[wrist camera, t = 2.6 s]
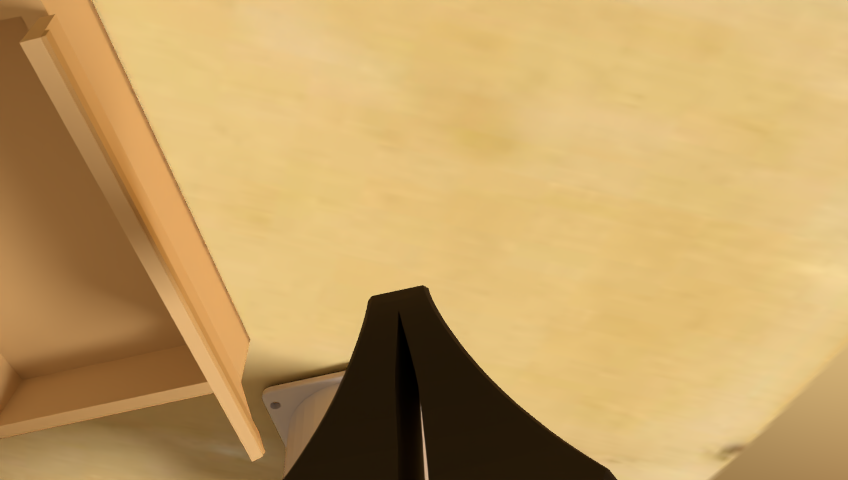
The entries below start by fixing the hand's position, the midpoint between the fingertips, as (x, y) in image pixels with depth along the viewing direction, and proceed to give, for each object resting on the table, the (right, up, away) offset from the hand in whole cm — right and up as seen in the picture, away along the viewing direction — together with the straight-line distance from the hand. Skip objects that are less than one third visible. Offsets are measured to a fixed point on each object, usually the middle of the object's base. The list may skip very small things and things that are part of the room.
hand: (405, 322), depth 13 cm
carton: (-15, +3, +9) cm, 17 cm away
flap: (-8, +1, +4) cm, 9 cm away
